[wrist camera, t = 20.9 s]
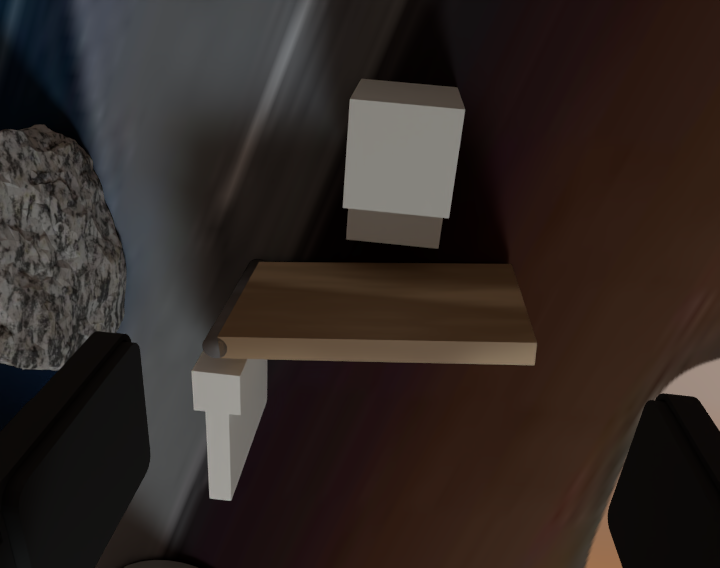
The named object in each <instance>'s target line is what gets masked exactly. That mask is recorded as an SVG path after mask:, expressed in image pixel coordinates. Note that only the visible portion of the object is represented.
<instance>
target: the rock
mask: <svg viewBox="0 0 720 568" xmlns="http://www.w3.org/2000/svg"><path fill="white" fill-rule="evenodd" d="M125 290H126V263H125V259H124V255H123V251H122V244H121V242H120V240H119V238H118V236H117V233H116V230H115V226H114V223H113V219H112V217H111V214H110V212H109V210H108V208H107V206H106V204H105V201H104V194H103V189H102V186H101V184H100V181H99V179H98V177H97V175H96V174H95V172H94V170H93V161H92V159H91V158H90V156H89V155H88V154H87V153H86V152H85V151H84V149H83V148H82V147H80V146H79V145H78V144H77V142H76V141H75V140H73V139H71V138H69V137H66V136H63V135H62V134H59V133H55V132H53V131H52V130H50V129H48V128H47V127H46V126H45V125H34V126H32V127H30V128H26V129H21V130H11V129H3V130H2V131H0V363H3V364H7V365H10V366H15V367H16V368H22V369H23V370H24V369H38V370H49V369H50V370H54V371H56V370H60V368H61V367H62V366H63V365H64V364H65V363H66V362H67V361H68V360H69V359H70V357H71V356H72V355H73V354H74V353H75V352H76V351H77V350H78V349H79V348H80V346H81V345H82V344H83V343H84V342H85V341H86V340H87V339H88V338H89V337H90V336H91V334H93V333H94V332H96V331H102V332H111V333H116V331H117V330H118V328H119V326H120V324H121V322H122V321H123V317H124V301H125Z"/></svg>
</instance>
